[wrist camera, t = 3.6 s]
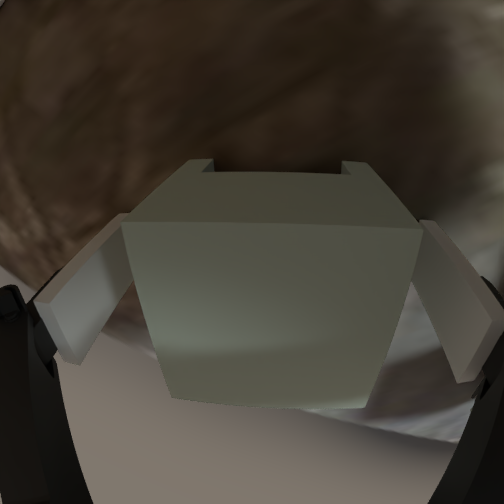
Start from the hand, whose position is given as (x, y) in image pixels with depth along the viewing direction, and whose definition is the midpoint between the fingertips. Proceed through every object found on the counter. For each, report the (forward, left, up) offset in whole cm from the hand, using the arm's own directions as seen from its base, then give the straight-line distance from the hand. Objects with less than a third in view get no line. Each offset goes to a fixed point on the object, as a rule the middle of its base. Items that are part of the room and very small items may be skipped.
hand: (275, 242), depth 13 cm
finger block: (0, 0, 0) cm, 0 cm away
